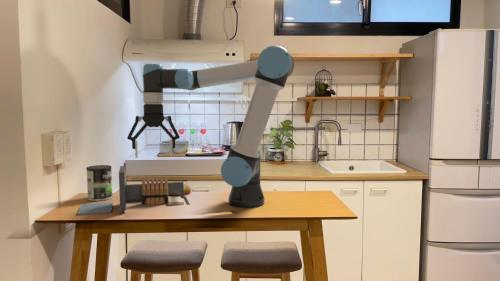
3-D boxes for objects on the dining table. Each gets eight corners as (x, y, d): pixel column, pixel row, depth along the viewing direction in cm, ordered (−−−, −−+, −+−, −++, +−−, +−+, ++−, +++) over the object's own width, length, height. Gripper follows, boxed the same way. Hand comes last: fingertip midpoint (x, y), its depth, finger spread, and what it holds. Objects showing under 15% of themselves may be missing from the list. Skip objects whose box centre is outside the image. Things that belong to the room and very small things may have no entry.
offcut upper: (179, 199, 166) (179, 196, 166) (183, 205, 156) (184, 202, 156) (165, 198, 164) (165, 196, 163) (168, 204, 154) (169, 201, 154)
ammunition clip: (141, 207, 156) (140, 178, 155) (142, 206, 158) (141, 177, 157) (168, 206, 158) (168, 177, 157) (169, 205, 159) (168, 176, 158)
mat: (112, 203, 162) (112, 202, 162) (110, 212, 149) (110, 211, 149) (81, 205, 159) (81, 204, 159) (76, 215, 145) (76, 213, 145)
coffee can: (117, 196, 176) (116, 165, 175) (104, 201, 166) (102, 169, 165) (96, 195, 178) (95, 164, 177) (82, 200, 168) (81, 168, 167)
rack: (185, 199, 170) (184, 163, 168) (190, 209, 154) (189, 169, 153) (121, 203, 162) (120, 165, 161) (120, 214, 147) (118, 172, 145)
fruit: (193, 197, 172) (187, 180, 170) (170, 205, 170) (164, 188, 168) (191, 191, 182) (186, 175, 181) (169, 199, 181) (164, 183, 179)
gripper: (183, 103, 161) (184, 154, 163) (120, 103, 154) (121, 156, 156) (186, 103, 154) (186, 157, 156) (119, 103, 147) (121, 159, 149)
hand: (154, 156), depth 156 cm, fingers open, 13 cm apart
